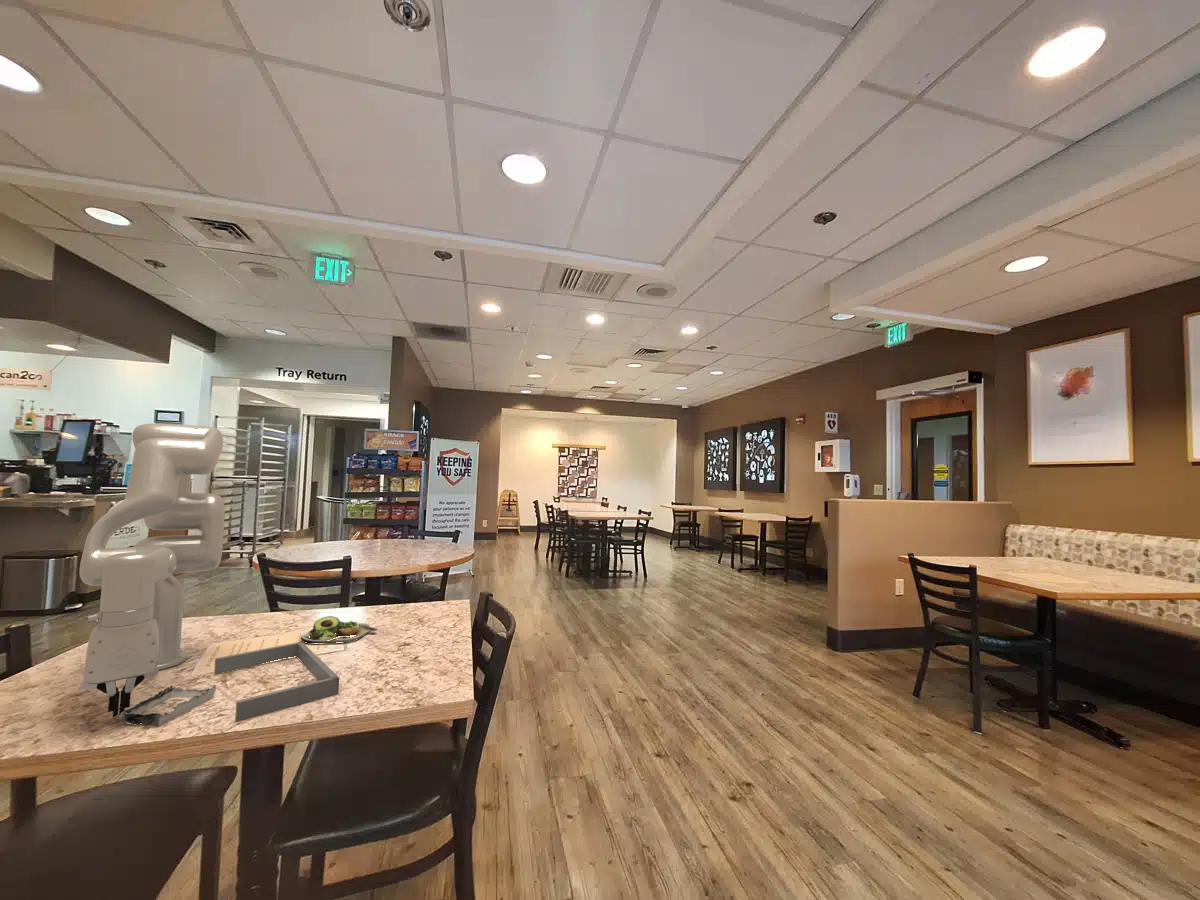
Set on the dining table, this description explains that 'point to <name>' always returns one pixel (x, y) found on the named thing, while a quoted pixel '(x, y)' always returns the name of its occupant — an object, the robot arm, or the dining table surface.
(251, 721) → the dining table surface
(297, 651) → the box
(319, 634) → the salad plate
